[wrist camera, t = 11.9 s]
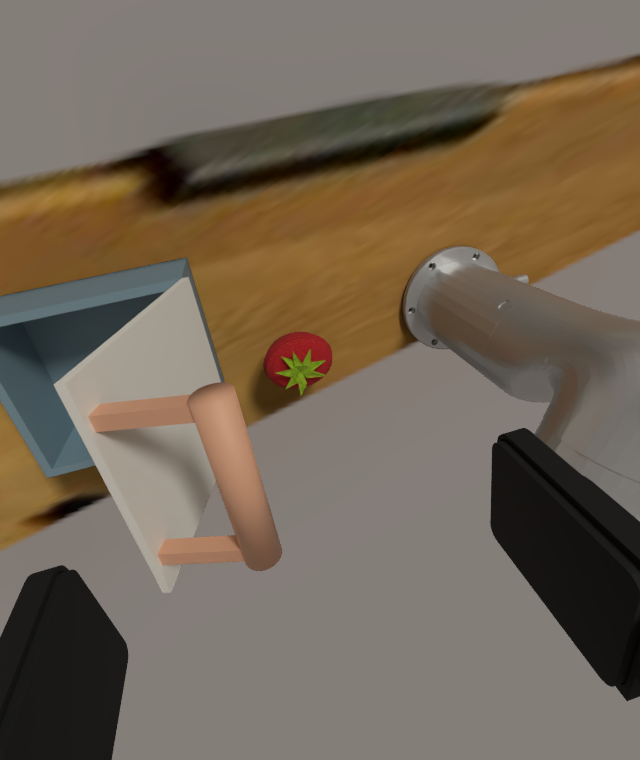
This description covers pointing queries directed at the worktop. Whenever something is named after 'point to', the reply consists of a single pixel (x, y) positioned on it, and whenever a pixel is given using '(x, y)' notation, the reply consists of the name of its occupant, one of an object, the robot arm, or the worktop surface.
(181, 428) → the flap
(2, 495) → the worktop surface
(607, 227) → the worktop surface
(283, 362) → the strawberry
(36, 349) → the carton
